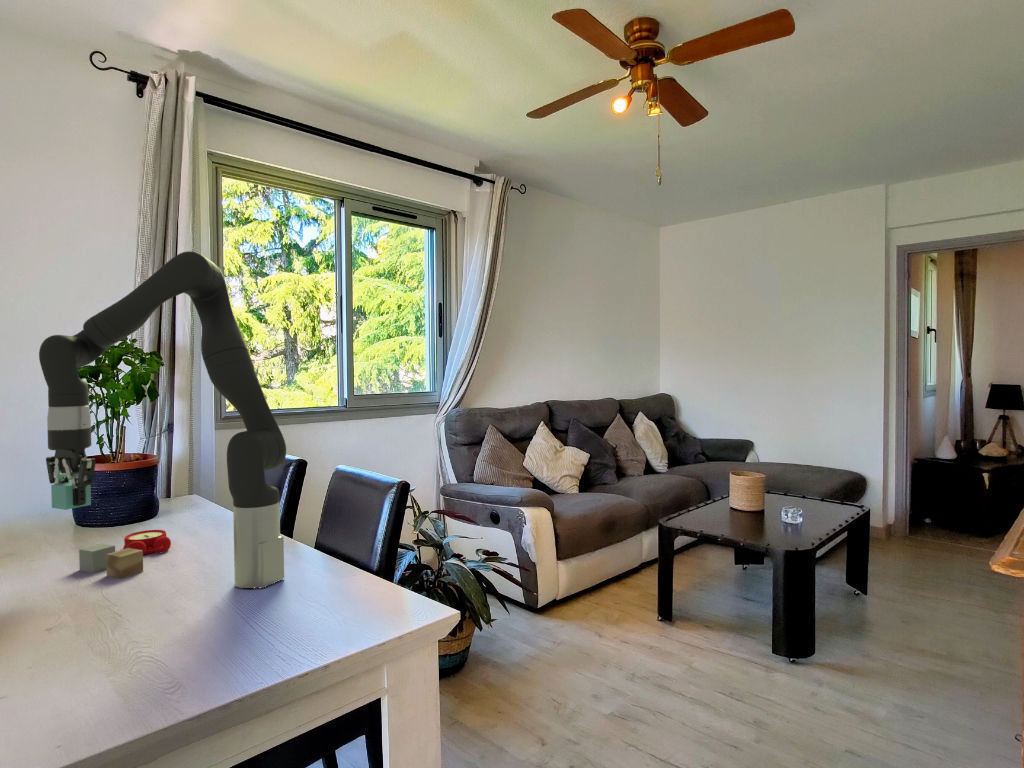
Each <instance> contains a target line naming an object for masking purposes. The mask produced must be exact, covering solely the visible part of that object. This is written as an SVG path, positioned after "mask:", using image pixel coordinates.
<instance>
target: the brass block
mask: <svg viewBox="0 0 1024 768" xmlns="http://www.w3.org/2000/svg"><path fill="white" fill-rule="evenodd" d="M122 549H123V548H122ZM122 549H120V550H115V552H113V553H109V554H106V562H107V569H106V576H107V577H111V578H115V579H120V580H121V579H125V578H127V576H128V577H131V576H134V575H137V574H139V572H140V573H142V571H143V572H144V555H143V550H138V549H132V548H127V549H123V550H122Z"/></svg>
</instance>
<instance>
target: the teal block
mask: <svg viewBox="0 0 1024 768" xmlns="http://www.w3.org/2000/svg"><path fill="white" fill-rule="evenodd" d="M77 482H78V480H77ZM91 487H92V486H91V485H88V486H87V487H86V489H85V490H86V503H85V504H84V505H80V506H74V505H73V487H72V483H71V481H70V482H66V483H60V484H54V483H53V484H51V485H50V488H51V490H50V491H51V493H50V494H51V508H52V509H56V510H65V511H66V510H71V509H72V510H73V509H77V508H81V507H87V506H91V505H92V495H91V494H92V492H91V490H92V489H91Z"/></svg>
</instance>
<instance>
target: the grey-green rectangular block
mask: <svg viewBox="0 0 1024 768" xmlns="http://www.w3.org/2000/svg"><path fill="white" fill-rule="evenodd" d="M113 552H116V545H113V544H110V543H109V544H108V543H103V542H102V543H101V542H100V543H98V544H94V545H90V546H86V547H84V548H79V549H78V553H79V554H78V556H79V561H78V562H79V571H81V570H83V572H86V571H88V572H87V573H91V572H92V574H94V573H97V572H100V571H101V572H102V571H104V570H107V562H106V554H109V553H113Z"/></svg>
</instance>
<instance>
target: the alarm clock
mask: <svg viewBox="0 0 1024 768" xmlns="http://www.w3.org/2000/svg"><path fill="white" fill-rule="evenodd" d="M123 541H124V545H123V548H122V549H121V550H123V549H127V548H132V549H138V550H143V556H144V555H149V554H148V553H150V554H154V552H155V553H157V554H161V553H160V552H163V553H165V551H166V552H168V550H170V548H171V545H172V540H171V539H170V537H168V536H167V532H166V531H165V530H164V529H149V530H147V529H146V530H142V531H137V532H132V533H129V534H127V535H126V536H124V539H123Z"/></svg>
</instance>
